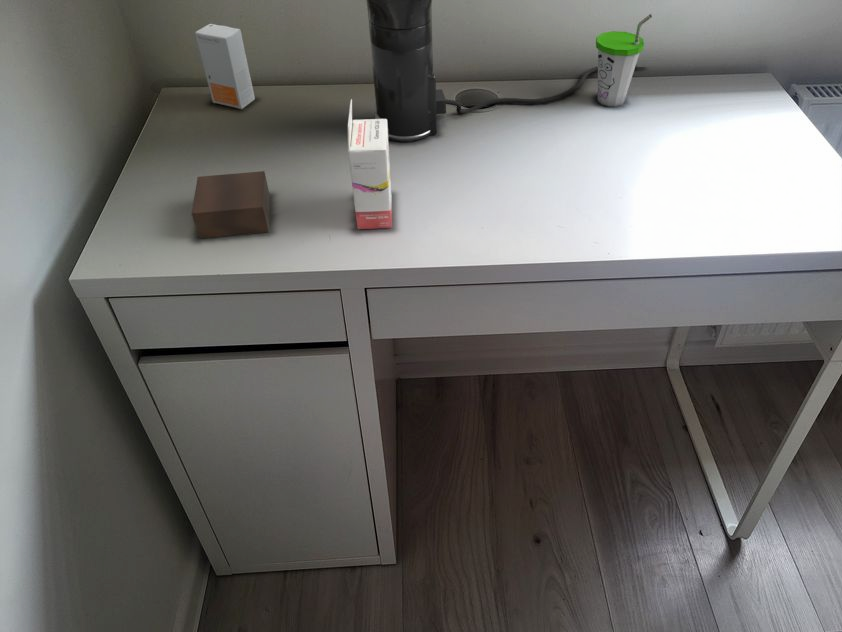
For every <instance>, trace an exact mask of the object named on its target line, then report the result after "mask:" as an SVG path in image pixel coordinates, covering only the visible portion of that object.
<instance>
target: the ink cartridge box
mask: <svg viewBox="0 0 842 632" xmlns="http://www.w3.org/2000/svg"><path fill="white" fill-rule="evenodd" d="M349 101H350V102H349V110H348V118H347V156H348V162H349V172H350V178H351V186H352V187H351V188H352V194H353V195H352V196H353V205H354V211H355V219H356V220H355V221H356V229H357V230H367V229H368V230H369V229H372V230H373V229H392V227H393V224H392V219H393V218H392V216H393V215H392V211H393V210H392V204H393V203H392V198H393V197H392V195H393V194H392V186H391V185H392V184H391V168H390V167H391V166H390V164H391V163H390V148H389V147H390V146H389V145H390V144H389V139H388V125H387V119H375V118H369V119H368V118H367V119H353V99H352V98H351V99H350V100H349Z"/></svg>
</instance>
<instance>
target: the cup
mask: <svg viewBox="0 0 842 632" xmlns="http://www.w3.org/2000/svg"><path fill="white" fill-rule="evenodd" d="M652 18H653V16H652V14H651V13H649V14H648V15H647V16H646V17H644V18H643V19H641V21H639V22H638V24H637V27H636V32H635V33H631V32H627V31H617V30H612V31H607V32H602V33H600V34H598V36H596V39H595V48H596V49H597V66H598V71H597V103H599V104H600V105H602V106H605V107H610V108H611V107H612V108H615V107H616V108H617V107H621V106H622V105H624V103H625V101H626V97H627V94H628V91H629V87H630V85H631V83H632V79H633V75H634V72H635V66H636V65H637V62H638V60H639V56H640V53H641V52H642V51H644V47H645V42H644V41H645V40H644V38H642V37H641V36H640V34H641V29H642V26H643V24H645V23H647V22H648V21H649V20H650V19H652Z"/></svg>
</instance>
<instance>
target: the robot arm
mask: <svg viewBox="0 0 842 632" xmlns="http://www.w3.org/2000/svg"><path fill="white" fill-rule="evenodd" d="M365 2H366V8H367V17H368V18H367V19H368V30H369V40H370V52H371V64H372V77H373V87H374V88H373V89H374V99H375V108H376V109H375V112H374V119H387V125H388V140H392V141H398V142H414V141H418V140H422V139H426V138H427V137H429V136H432V135H437V134H438V117H437V115H443V114H444V115H445V114H447V105H450V106H454V107H456V112H457V114H461V115H464V114H468V113H471V112H474V111H476V110H480V109H483V108H485V107H489V106H491V105H496V104H497V105H498V104H505V103H506V104H527V105H533V104H534V105H536V104H545V103H549V102H554V101H557V100H560V99H563V98H564V97H567V96H568V95H571V94H572V93H574V92H576V91H577V90H579V89H580V88H581V87H582V86H583V85H584V82H585V80H586V79H587V77H588V76H589V75H591V74H593V73H596V72H598V67H597V66H595V67H592V68H590V69H588V70H586V71H585V72H584V73H583V74H582V75H581V77H580V79H579V81H578V82H577V84H575V85H573V86H572V87H571V88H569V89H567V90H564V91H563V92H561V93H559V94H555V95H552V96H547V97H541V98H519V97H500V98H493V99H489V100H486V101H483V102H480V103H479V104H476V105H474V106H472V107H470V108H465V109H463V108H462V104H461V103H460V102H459V100H458V101H457V100H454V99H448V98H446V97H445V94H444V90H443V89H442V88H441V89H440V88H439V89H437V80H436V79H437V77H436V74H435V70H434V52H433V51H434V49H433V48H434V47H433V46H434V45H433V44H434V43H433V12H432V11H433V9H432V8H433V0H365ZM639 69H640V68H639V67H638V65H637V64H636V66H635V69H634V71H636V70H637V71H638V70H639Z"/></svg>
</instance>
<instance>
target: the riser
mask: <svg viewBox="0 0 842 632" xmlns="http://www.w3.org/2000/svg"><path fill="white" fill-rule="evenodd" d="M270 198H271V194H270V190H269V186H268V181H267V175H266V171H264V170H261V171H260V170H259V171H250V172H237V173H236V172H235V173H226V174H225V173H224V174H214V175H212V174H211V175H202V176H197V178H196V185H195V189H194V196H193V201H192V208H191V217H192V221H193V222H194V225H195V226H194V227H195V230H196V232H197V236H198V238H199V239H210V238H211V239H212V238H220V237H233V236H243V235H252V234H253V235H254V234H263V233H269V232H270V231H269V230H270V205H271V204H270V203H271V199H270Z"/></svg>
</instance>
